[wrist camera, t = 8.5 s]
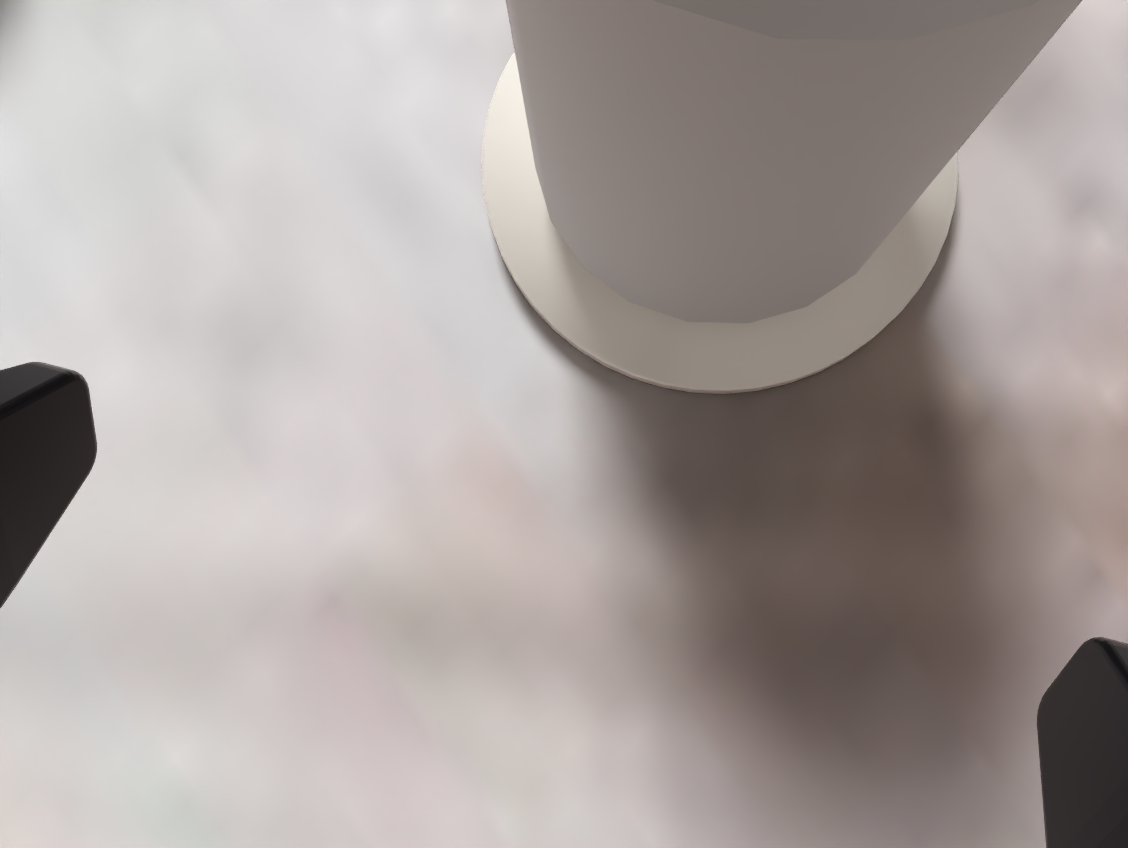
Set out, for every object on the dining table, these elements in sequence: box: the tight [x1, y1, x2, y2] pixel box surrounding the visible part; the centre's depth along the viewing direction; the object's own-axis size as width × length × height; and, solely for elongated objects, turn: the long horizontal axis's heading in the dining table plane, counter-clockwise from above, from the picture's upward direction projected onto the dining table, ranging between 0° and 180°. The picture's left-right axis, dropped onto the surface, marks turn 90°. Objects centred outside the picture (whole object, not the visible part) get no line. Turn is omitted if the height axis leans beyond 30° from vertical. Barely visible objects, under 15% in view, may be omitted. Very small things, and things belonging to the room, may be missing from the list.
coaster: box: [481, 52, 958, 394], centre depth 19 cm, size 10×10×1 cm
